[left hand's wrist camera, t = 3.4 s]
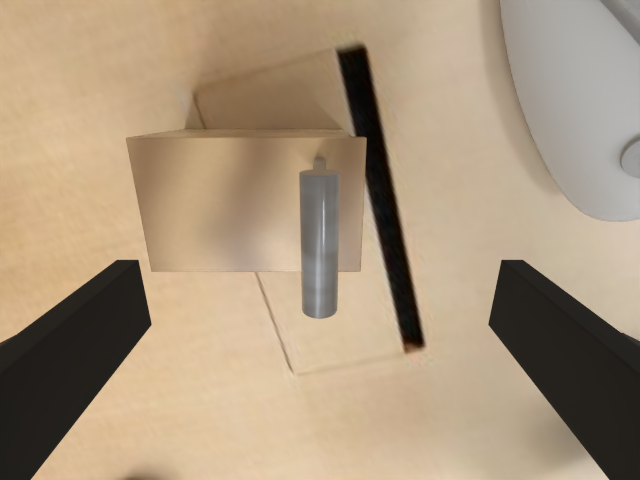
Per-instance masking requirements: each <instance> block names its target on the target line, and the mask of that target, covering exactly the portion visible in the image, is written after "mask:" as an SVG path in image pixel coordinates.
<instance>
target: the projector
mask: <svg viewBox="0 0 640 480" xmlns="http://www.w3.org/2000/svg"><path fill="white" fill-rule="evenodd" d="M500 9H501V18H502V25H503V32H504V39H505V45H506V50H507V55H508V60H509V65H510V69H511V73H512V77H513V81H514V85H515V89H516V92H517V96H518V99H519V102H520V105H521V108H522V111H523V114H524V117H525V120H526V122H527V125H528V127H529V130H530V132H531V135H532V137H533V140H534V142H535V144H536V146H537V148H538V151H539V153H540V155H541V157H542V159H543V161H544V163H545V165H546V167H547V169H548V171H549V172H550V174H551V176H552V178H553V179H554V181H555V183H556V184H557V186H558V187H559V189H560V190H561V192H562V193H563V194H564V195H565V197H566V198H567V199H568V200H569V201H570V202H571V203H572V204H573V205H574V206H575V207H576V208H577V209H578V210H580V211H581V212H583V213H584V214H586V215H588V216H590V217H592V218H595V219H598V220H603V221H612V222H623V221H632V220H638V219H640V0H500Z"/></svg>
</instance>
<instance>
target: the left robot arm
mask: <svg viewBox="0 0 640 480" xmlns="http://www.w3.org/2000/svg"><path fill="white" fill-rule="evenodd" d="M151 325H152V324H151V319H150V314H149V310H148V305H147V300H146V295H145V290H144V285H143V280H142V276H141V271H140V266H139V261H138V260H116V261H115V262H114V263H112V264H111V265H110V266H108V267H107V268H106V269H104V270H103V271H102V272H100V273H99V274H98V275H96V276H95V277H94V278H92V279H91V280H90V281H88V282H87V283H85V284H84V285H83V286H81V287H80V288H79V289H77V290H76V291H75V292H73V293H72V294H71V295H69V296H68V297H67V298H65V299H64V300H63V301H61V302H60V303H59V304H57V305H56V306H55V307H53V308H52V309H51V310H49V311H48V312H46V313H45V314H44V315H42V316H41V317H40V318H38V319H37V320H36V321H34V322H33V323H32V324H30V325H29V326H28V327H26V328H25V329H24V330H22V331H21V332H20V333H18V334H17V335H15V336H13V337H11V338H9V339H7V340H5V341H3V342H1V343H0V480H31V478H32V477H33V476H34V475H35V473H36V472H37V471H38V469H39V468H40V467H41V466H42V464H43V463H44V462H45V460H46V459H47V458H48V457H49V455H50V454H51V453H52V451H53V450H54V449H55V448H56V446H57V445H58V444H59V443H60V441H61V440H62V439H63V437H64V436H65V435H66V434H67V432H68V431H69V430H70V428H71V427H72V426H73V425H74V423H75V422H76V421H77V419H78V418H79V417H80V416H81V414H82V413H83V412H84V411H85V409H86V408H87V407H88V405H89V404H90V403H91V402H92V400H93V399H94V398H95V396H96V395H97V394H98V393H99V391H100V390H101V389H102V387H103V386H104V385H105V384H106V382H107V381H108V380H109V379H110V377H111V376H112V375H113V373H114V372H115V371H116V370H117V368H118V367H119V366H120V364H121V363H122V362H123V361H124V359H125V358H126V357H127V355H128V354H129V353H130V352H131V350H132V349H133V348H134V347H135V345H136V344H137V343H138V341H139V340H140V339H141V338H142V336H143V335H144V334H145V332H146V331H147V330H148V329H149V327H150V326H151ZM488 325H489V326H490V327H491V329H492V330H493V331H494V332H495V334H496V335H497V336H498V338H499V339H500V340H501V341H502V343H503V344H504V345H505V347H506V348H507V349H508V350H509V352H510V353H511V354H512V355H513V357H514V358H515V359H516V361H517V362H518V363H519V364H520V366H521V367H522V368H523V370H524V371H525V372H526V373H527V375H528V376H529V377H530V379H531V380H532V381H533V382H534V384H535V385H536V386H537V387H538V389H539V390H540V391H541V393H542V394H543V395H544V396H545V398H546V399H547V400H548V402H549V403H550V404H551V405H552V407H553V408H554V409H555V411H556V412H557V413H558V414H559V416H560V417H561V418H562V419H563V421H564V422H565V423H566V425H567V426H568V427H569V428H570V430H571V431H572V432H573V434H574V435H575V436H576V437H577V439H578V440H579V441H580V443H581V444H582V445H583V446H584V448H585V449H586V450H587V451H588V453H589V454H590V455H591V457H592V458H593V459H594V460H595V462H596V463H597V464H598V466H599V467H600V468H601V469H602V471H603V472H604V473H605V475H606V476H607V477H608V478H609V480H640V341H638V340H636V339H634V338H632V337H630V336H628V335H626V334H624V333H620V332H619V331H618V330H616V329H615V328H614V327H612V326H611V325H610V324H608V323H607V322H606V321H604V320H603V319H602V318H600V317H599V316H598V315H596V314H595V313H594V312H592V311H591V310H589V309H588V308H587V307H585V306H584V305H583V304H581V303H580V302H579V301H577V300H576V299H575V298H573V297H572V296H571V295H569V294H568V293H567V292H565V291H564V290H563V289H561V288H560V287H559V286H557V285H556V284H555V283H553V282H552V281H550V280H549V279H548V278H546V277H545V276H544V275H542V274H541V273H540V272H538V271H537V270H536V269H534V268H533V267H532V266H530V265H529V264H528V263H526V262H525V261H524V260H502V261H501V266H500V271H499V276H498V280H497V285H496V290H495V295H494V300H493V305H492V310H491V314H490V319H489V324H488Z"/></svg>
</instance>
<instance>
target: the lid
mask: <svg viewBox="0 0 640 480" xmlns="http://www.w3.org/2000/svg"><path fill="white" fill-rule="evenodd" d="M366 140H367V138H366V137H128V138H126V141H127V146H128V152H129V157H130V162H131V167H132V172H133V178H134V183H135V188H136V193H137V198H138V203H139V209H140V214H141V219H142V224H143V229H144V235H145V240H146V245H147V250H148V255H149V261H150V266H151V271H152V272H301V280H302V311H303V313H304V314H305V315H307V316H309V317H312V318H318V319H321V318H328V317H330V316H332V315H334V314H335V313H336V311H337V292H338V272H360V270H361V248H362V226H363V205H364V183H365V162H366Z"/></svg>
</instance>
